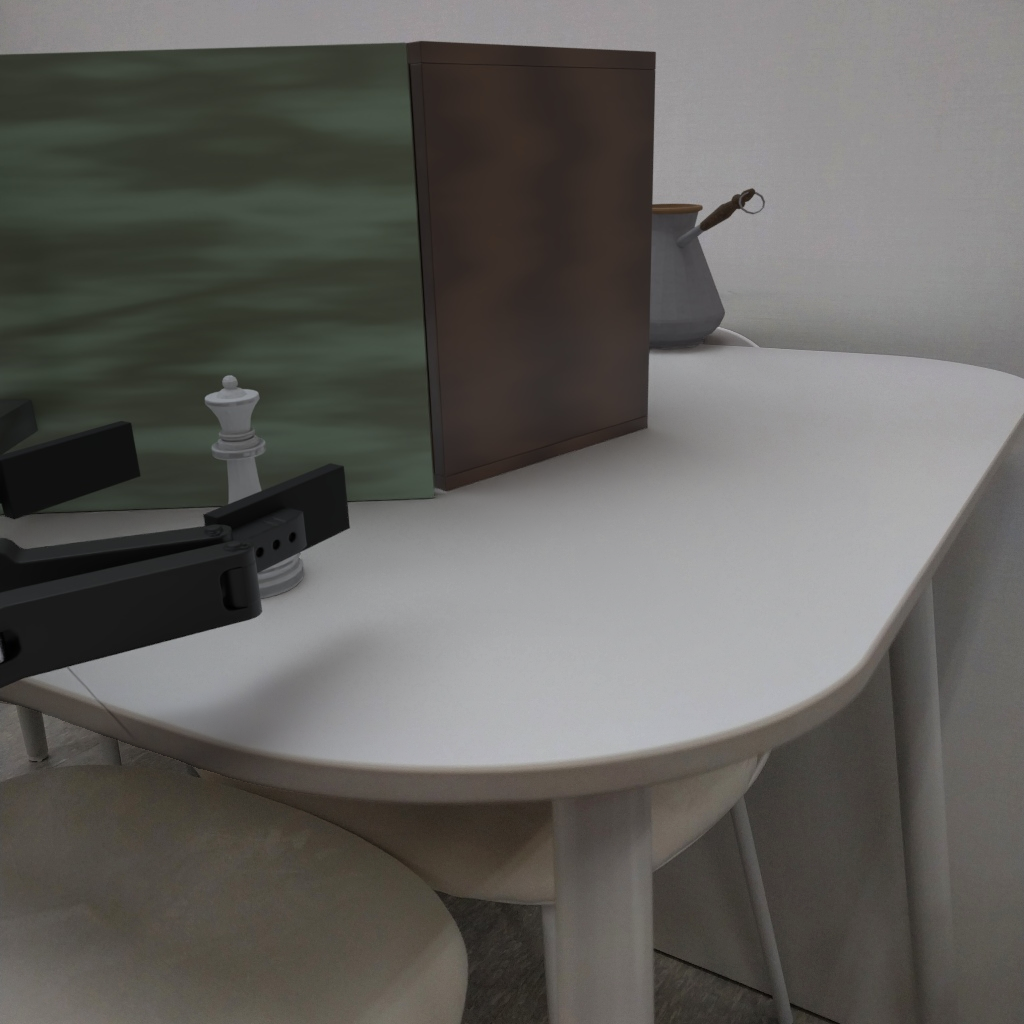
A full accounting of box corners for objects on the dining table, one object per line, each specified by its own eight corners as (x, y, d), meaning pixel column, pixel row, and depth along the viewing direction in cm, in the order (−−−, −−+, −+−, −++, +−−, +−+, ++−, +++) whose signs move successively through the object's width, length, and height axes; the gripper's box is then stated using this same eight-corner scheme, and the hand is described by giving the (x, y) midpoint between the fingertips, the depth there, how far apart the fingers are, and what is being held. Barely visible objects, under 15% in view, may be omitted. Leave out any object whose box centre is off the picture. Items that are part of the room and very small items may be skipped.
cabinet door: (428, 545, 49) (394, 27, 41) (-88, 565, 49) (-233, 45, 40) (435, 491, 57) (407, 44, 48) (-12, 508, 56) (-120, 60, 48)
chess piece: (306, 559, 48) (283, 361, 45) (302, 597, 44) (276, 383, 41) (216, 567, 48) (185, 367, 44) (203, 606, 44) (168, 391, 40)
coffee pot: (589, 335, 100) (589, 182, 94) (690, 326, 103) (695, 177, 97) (683, 381, 81) (690, 191, 75) (803, 368, 84) (818, 185, 78)
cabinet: (446, 493, 57) (420, 40, 48) (238, 413, 75) (192, 74, 66) (647, 429, 68) (656, 51, 59) (424, 373, 86) (405, 78, 77)
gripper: (-456, 684, 35) (75, 501, 51) (-106, 983, 22) (455, 609, 38) (-545, 487, 32) (46, 360, 48) (-206, 694, 19) (445, 425, 35)
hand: (227, 469), depth 43 cm, fingers open, 13 cm apart
